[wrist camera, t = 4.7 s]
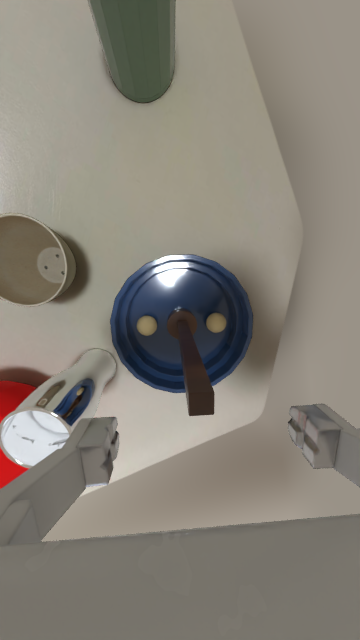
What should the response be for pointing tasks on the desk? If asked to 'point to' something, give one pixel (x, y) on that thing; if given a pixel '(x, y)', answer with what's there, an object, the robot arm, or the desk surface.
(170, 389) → the bowl
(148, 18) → the crock
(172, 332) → the brown disc-ended rod
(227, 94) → the desk surface
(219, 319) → the dumpling
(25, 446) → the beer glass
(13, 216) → the flower pot
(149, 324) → the dumpling
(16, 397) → the vase
